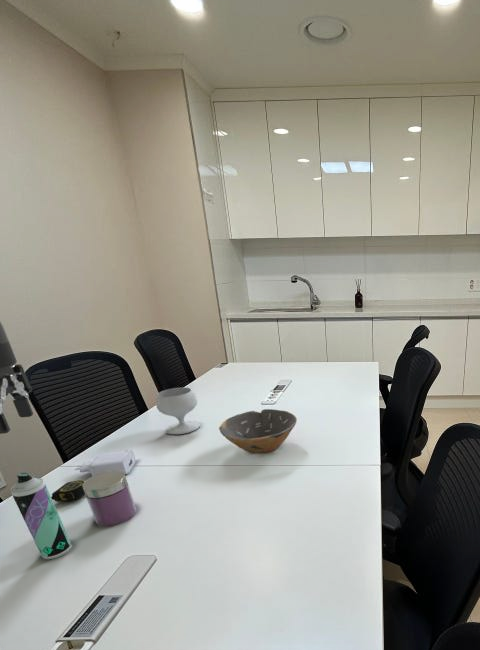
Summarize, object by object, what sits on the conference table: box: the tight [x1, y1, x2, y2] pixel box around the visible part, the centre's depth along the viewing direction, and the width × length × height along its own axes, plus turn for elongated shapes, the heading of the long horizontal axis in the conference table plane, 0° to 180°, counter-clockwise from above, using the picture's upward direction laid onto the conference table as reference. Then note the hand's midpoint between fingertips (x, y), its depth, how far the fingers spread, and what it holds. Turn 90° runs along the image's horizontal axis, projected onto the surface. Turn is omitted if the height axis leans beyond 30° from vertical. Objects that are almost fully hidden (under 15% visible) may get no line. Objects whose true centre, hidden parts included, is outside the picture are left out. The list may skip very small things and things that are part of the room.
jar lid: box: [82, 471, 128, 498], centre depth 96 cm, size 9×9×2 cm
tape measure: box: [51, 479, 85, 502], centre depth 107 cm, size 7×7×4 cm
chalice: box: [155, 387, 201, 435], centre depth 148 cm, size 14×14×15 cm
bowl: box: [218, 408, 298, 455], centre depth 131 cm, size 25×25×10 cm
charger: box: [74, 449, 136, 477], centre depth 120 cm, size 5×9×15 cm
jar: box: [84, 482, 137, 527], centre depth 97 cm, size 9×9×10 cm
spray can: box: [10, 472, 73, 560], centre depth 83 cm, size 6×6×20 cm
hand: (15, 424), depth 76 cm, fingers open, 8 cm apart
